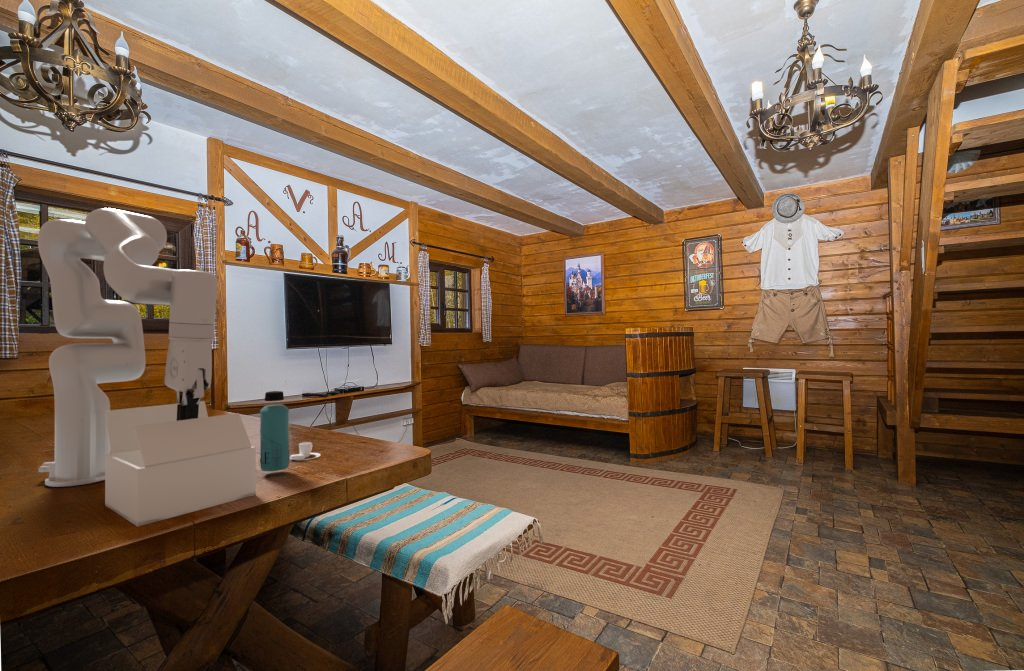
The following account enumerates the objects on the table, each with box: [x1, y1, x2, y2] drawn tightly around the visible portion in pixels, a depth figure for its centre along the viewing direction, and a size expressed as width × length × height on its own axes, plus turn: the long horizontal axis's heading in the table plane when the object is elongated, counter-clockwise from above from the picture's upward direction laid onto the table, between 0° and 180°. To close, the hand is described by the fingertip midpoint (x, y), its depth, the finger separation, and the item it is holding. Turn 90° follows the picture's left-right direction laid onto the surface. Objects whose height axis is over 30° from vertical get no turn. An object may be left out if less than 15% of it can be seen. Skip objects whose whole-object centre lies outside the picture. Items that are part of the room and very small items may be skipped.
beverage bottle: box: [259, 390, 291, 472], centre depth 112 cm, size 6×7×20 cm
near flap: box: [134, 412, 253, 468], centre depth 91 cm, size 18×8×1 cm
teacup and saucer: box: [289, 441, 322, 461], centre depth 129 cm, size 9×8×4 cm
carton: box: [104, 445, 257, 528], centre depth 94 cm, size 20×18×10 cm
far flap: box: [105, 400, 209, 454], centre depth 101 cm, size 18×9×1 cm
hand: (187, 423), depth 93 cm, fingers closed
